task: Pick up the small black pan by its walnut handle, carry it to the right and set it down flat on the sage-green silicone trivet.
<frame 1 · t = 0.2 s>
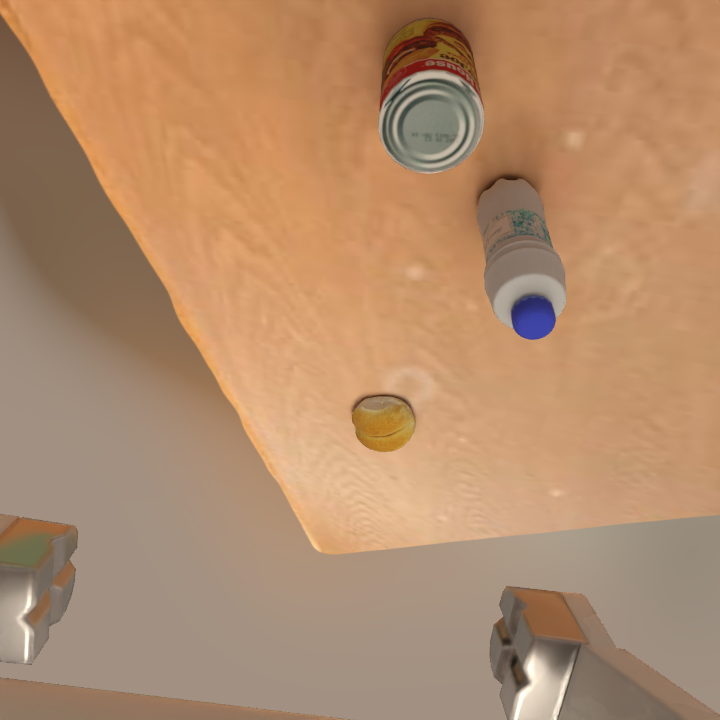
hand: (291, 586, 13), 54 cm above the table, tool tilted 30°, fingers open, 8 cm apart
bottle: (506, 199, 66), on the table
bread roll: (383, 414, 89), on the table
canned food: (427, 65, 58), on the table
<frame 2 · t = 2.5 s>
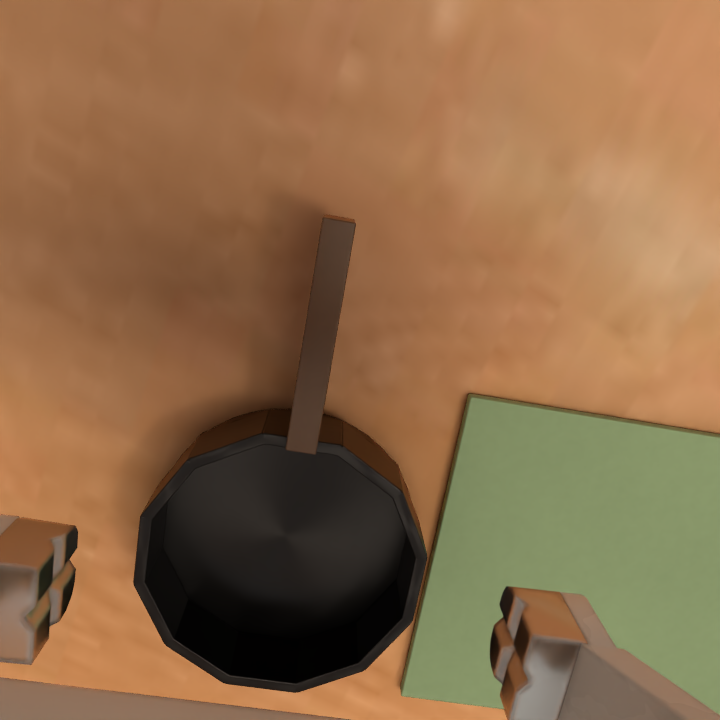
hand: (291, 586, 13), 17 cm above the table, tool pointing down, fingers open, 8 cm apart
pan: (286, 528, 31), on the table
trivet: (611, 575, 32), on the table
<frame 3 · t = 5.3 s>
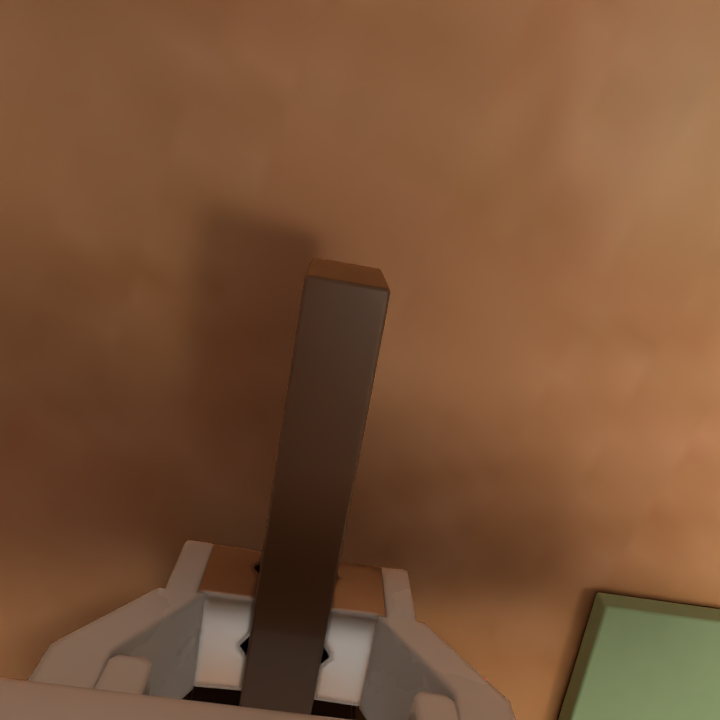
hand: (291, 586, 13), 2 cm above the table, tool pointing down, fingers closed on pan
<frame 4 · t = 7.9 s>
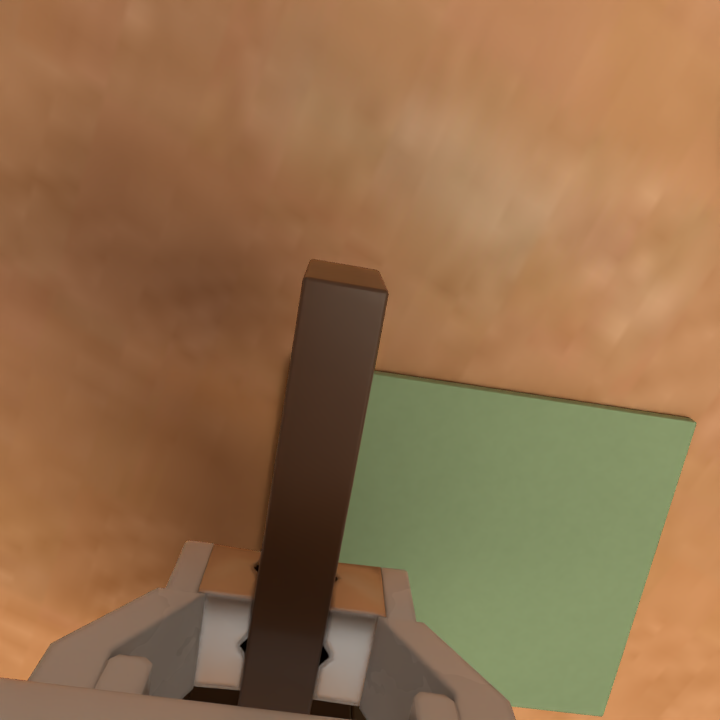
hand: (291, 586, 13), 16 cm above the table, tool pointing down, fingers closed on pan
trivet: (458, 548, 31), on the table
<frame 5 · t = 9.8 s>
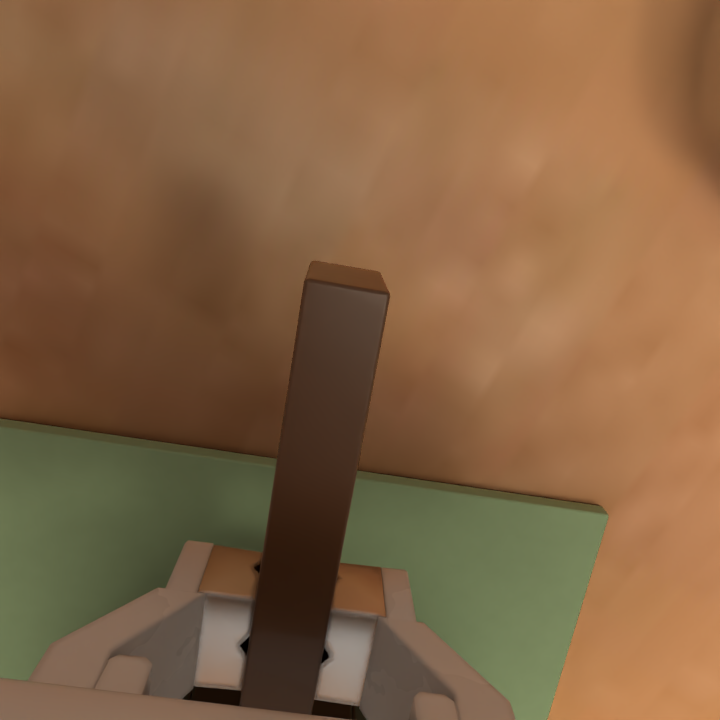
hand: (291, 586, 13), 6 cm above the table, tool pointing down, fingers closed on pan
trivet: (261, 692, 21), on the table
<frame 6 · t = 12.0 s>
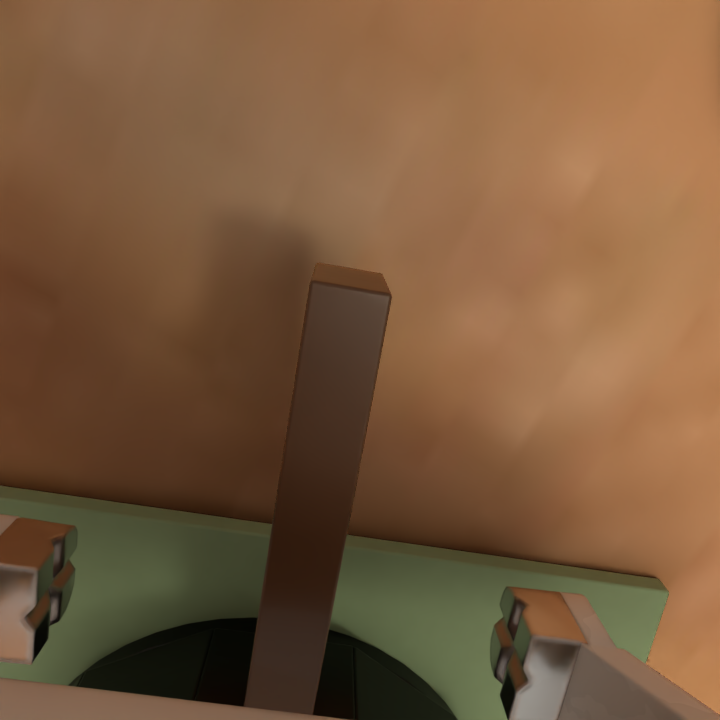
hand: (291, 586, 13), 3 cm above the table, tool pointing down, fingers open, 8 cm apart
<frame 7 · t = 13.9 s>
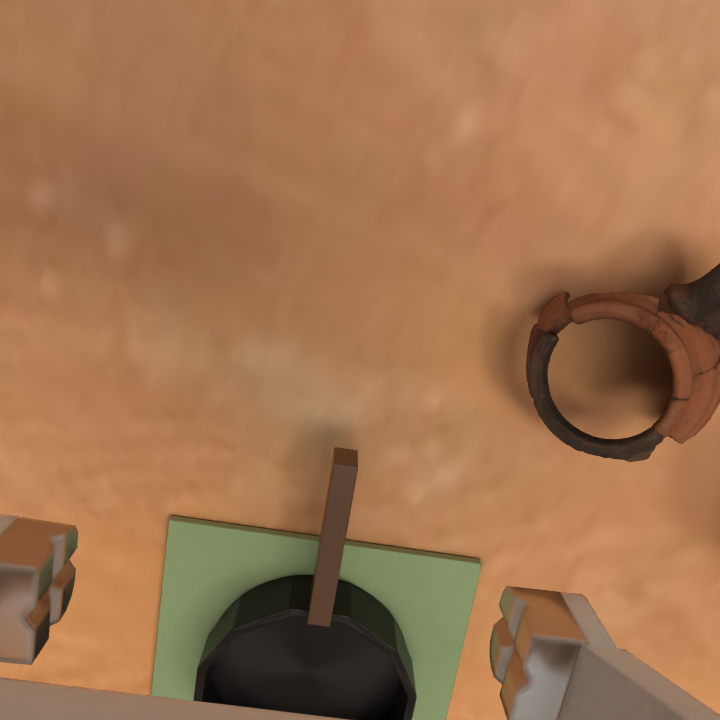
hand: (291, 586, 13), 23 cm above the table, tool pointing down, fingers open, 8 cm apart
pan: (307, 663, 40), point 1 cm above the table, touching trivet
trivet: (307, 655, 40), on the table
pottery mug: (623, 339, 36), on the table
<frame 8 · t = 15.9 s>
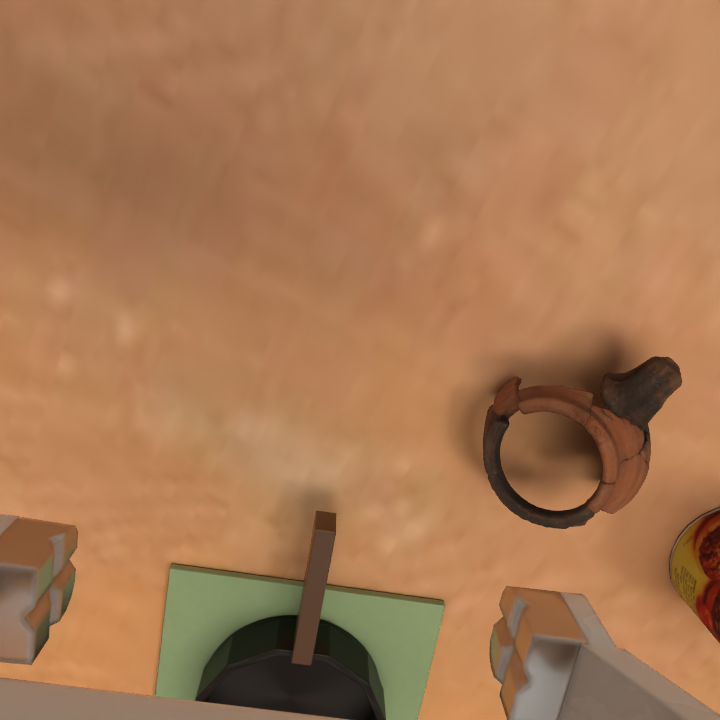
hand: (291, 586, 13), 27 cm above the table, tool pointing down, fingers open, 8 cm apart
pan: (291, 691, 45), point 1 cm above the table, touching trivet
trivet: (292, 683, 45), on the table
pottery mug: (568, 415, 41), on the table
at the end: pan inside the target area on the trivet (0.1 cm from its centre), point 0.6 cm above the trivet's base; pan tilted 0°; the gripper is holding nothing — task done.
